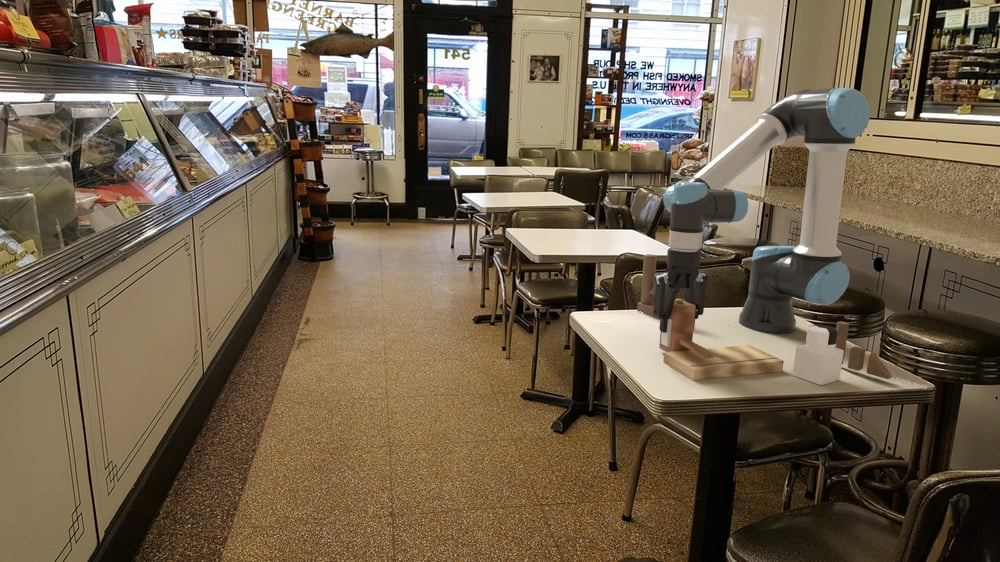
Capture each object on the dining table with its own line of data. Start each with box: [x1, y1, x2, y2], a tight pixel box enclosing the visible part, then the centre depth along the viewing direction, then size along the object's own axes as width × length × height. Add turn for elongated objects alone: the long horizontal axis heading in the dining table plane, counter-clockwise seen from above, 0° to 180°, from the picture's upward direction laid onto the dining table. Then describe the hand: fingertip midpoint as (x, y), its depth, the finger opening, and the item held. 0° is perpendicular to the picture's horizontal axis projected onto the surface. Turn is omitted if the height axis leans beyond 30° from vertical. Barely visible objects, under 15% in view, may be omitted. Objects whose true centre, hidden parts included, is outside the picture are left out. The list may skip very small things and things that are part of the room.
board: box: [662, 344, 785, 381], centre depth 158 cm, size 24×12×3 cm, turn 109°
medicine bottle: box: [792, 323, 844, 386], centre depth 152 cm, size 7×7×12 cm
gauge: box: [658, 298, 716, 358], centre depth 158 cm, size 5×17×13 cm, turn 19°
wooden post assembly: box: [636, 253, 674, 321], centre depth 197 cm, size 4×11×18 cm, turn 32°
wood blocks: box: [835, 320, 927, 390], centre depth 157 cm, size 25×3×10 cm, turn 38°
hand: (675, 343), depth 164 cm, fingers closed on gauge, 5 cm apart
